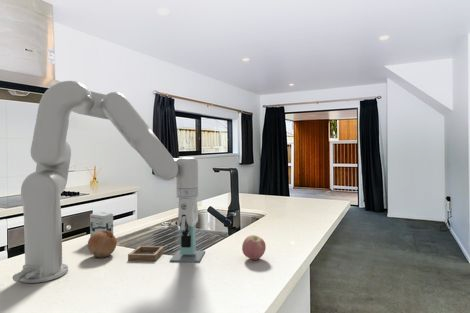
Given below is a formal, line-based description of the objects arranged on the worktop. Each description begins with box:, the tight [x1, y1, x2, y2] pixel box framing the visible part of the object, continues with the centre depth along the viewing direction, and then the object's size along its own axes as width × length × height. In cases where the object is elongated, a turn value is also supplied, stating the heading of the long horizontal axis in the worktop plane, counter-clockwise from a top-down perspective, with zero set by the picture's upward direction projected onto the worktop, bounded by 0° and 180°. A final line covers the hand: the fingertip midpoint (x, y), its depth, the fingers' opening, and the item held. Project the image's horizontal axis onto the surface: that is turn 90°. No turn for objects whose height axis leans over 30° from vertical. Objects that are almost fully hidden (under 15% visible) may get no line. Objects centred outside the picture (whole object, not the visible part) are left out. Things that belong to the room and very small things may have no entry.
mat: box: [169, 249, 206, 263], centre depth 106 cm, size 10×10×1 cm
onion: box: [87, 230, 117, 259], centre depth 108 cm, size 10×9×10 cm
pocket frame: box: [127, 245, 165, 262], centre depth 107 cm, size 10×10×2 cm
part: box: [179, 223, 197, 255], centre depth 106 cm, size 4×4×10 cm
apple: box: [241, 234, 267, 261], centre depth 103 cm, size 8×8×8 cm
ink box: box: [89, 211, 114, 238], centre depth 124 cm, size 9×5×12 cm, turn 62°
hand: (187, 244), depth 106 cm, fingers closed on part, 4 cm apart
